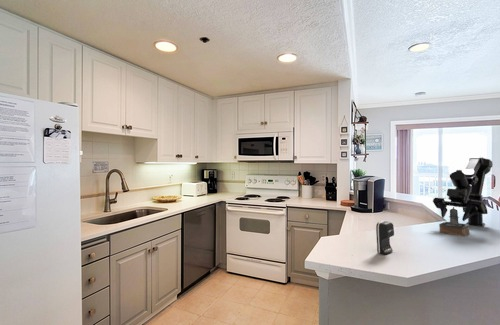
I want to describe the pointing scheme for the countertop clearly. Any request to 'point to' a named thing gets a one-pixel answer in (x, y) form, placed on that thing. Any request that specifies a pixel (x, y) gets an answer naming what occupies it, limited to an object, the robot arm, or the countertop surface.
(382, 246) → the coffee maker
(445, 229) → the holder
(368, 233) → the countertop surface
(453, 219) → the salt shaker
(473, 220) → the robot arm
